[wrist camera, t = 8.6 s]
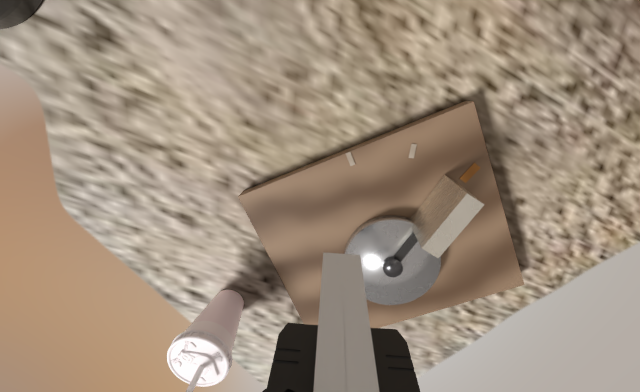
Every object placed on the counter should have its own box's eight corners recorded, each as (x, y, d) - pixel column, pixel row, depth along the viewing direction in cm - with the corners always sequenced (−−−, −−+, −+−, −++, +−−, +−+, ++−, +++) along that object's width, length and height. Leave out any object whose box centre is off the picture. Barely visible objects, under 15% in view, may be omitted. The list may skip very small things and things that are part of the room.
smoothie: (237, 330, 42) (190, 440, 29) (195, 305, 42) (127, 406, 28) (263, 298, 41) (226, 400, 27) (220, 270, 40) (160, 361, 26)
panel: (243, 191, 36) (237, 197, 34) (465, 100, 32) (474, 101, 30) (316, 334, 42) (315, 347, 40) (514, 274, 37) (524, 285, 35)
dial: (411, 152, 32) (426, 166, 26) (491, 205, 33) (523, 229, 27) (326, 268, 36) (324, 302, 31) (400, 311, 37) (410, 350, 32)
